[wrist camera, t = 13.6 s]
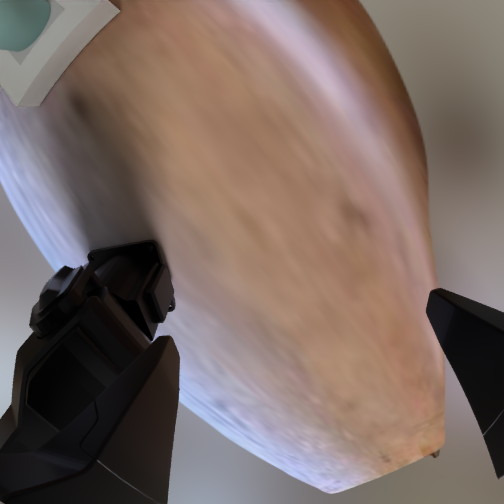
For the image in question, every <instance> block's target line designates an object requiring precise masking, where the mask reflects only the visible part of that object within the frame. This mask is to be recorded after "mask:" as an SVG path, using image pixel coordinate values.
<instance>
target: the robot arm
mask: <svg viewBox="0 0 504 504" xmlns="http://www.w3.org/2000/svg"><path fill="white" fill-rule="evenodd" d="M149 245H152V246H153V249H151V248H149ZM92 255H93V256H94V257H95V259H94V258H93V257H92ZM87 257H88V261H89V263H87V264H86V265H84V266H83V267H82V265H81V266H80V267H78V268H76V269H75V268H74V269H73V268H70V267H67V266H64V267H62V268H61V269H60V270H59V271H58V272H57V273H56V274H55V275H54V276H53V277H52V278H51V279H50V280H49V281H48V282H47V283H46V285H45V286H44V288H43V290H42V292H41V294H40V299H39V301H38V302H37V303H36V304H35V305H34V307H33V308H32V313H31V318H30V324H29V326H30V328H31V329H32V330H33V331H34V332H33V333H32V334H31V335H30V336H29V338H28V339H27V340H26V341H25V342H24V343H23V345H22V346H21V347H20V348H19V350H18V351H17V355H16V363H15V369H14V378H13V388H12V402H11V405H10V406H9V408H8V409H7V411H6V412H5V413H4V415H3V416H2V417H1V419H0V504H167V502H168V489H169V477H170V468H171V458H172V449H173V441H174V432H175V424H176V417H177V409H178V401H179V390H180V388H179V370H180V356H179V352H178V350H177V348H176V345H175V343H174V340H173V338H172V337H171V336H170V335H167V336H159V337H158V338H157V339H156V340H155V341H154V342H151V341H153V339H154V336H155V333H156V330H157V327H158V324H159V323H163V322H164V320H165V318H166V315H167V312H171V311H173V310H174V309H175V306H176V305H175V301H174V298H173V294H174V289H173V285H172V282H171V279H170V276H169V272H168V269H167V266H166V265H165V264H164V263H162V259H161V256H160V252H159V249H158V245H157V243H156V242H155V241H154V240H146V241H140V242H135V243H129V244H124V245H119V246H113V247H108V248H103V249H98V250H92V251H91V252H90V253H89V254H88V256H87ZM170 305H171V307H169V306H170ZM426 314H427V317H428V319H429V321H430V323H431V325H432V327H433V330H434V332H435V334H436V336H437V339H438V341H439V343H440V346H441V348H442V350H443V352H444V353H445V355H446V357H447V359H448V361H449V363H450V365H451V366H452V368H453V370H454V372H455V374H456V376H457V378H458V380H459V382H460V384H461V386H462V388H463V391H464V393H465V395H466V397H467V399H468V401H469V404H470V406H471V408H472V410H473V413H474V415H475V417H476V420H477V422H478V425H479V427H480V429H481V432H482V435H483V437H484V440H485V443H486V445H487V448H488V451H489V454H490V457H491V460H492V463H493V466H494V468H495V472H496V475H497V478H498V479H500V478H501V477H503V476H504V312H501V311H498V310H496V309H494V308H491V307H489V306H486V305H483V304H481V303H479V302H476V301H474V300H471V299H468V298H466V297H463V296H461V295H458V294H455V293H453V292H450V291H447V290H445V289H442V288H437V289H434V290H432V291H431V292H430V294H429V298H428V303H427V307H426Z"/></svg>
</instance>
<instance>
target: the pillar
mask: <svg viewBox="0 0 504 504" xmlns="http://www.w3.org/2000/svg"><path fill="white" fill-rule="evenodd" d="M49 15H50V5H49V3H48V2H47V1H46V0H0V50H8V51H15V52H19V51H22V50H24V49H26V48H28V47H29V46H30V45H31V44H32V43H33V42H34V41H35V40H36V39H37V38H38V37H39V35H40V34H41V33H42V31H43V29H44V28H45V26H46V24H47V21H48V19H49Z"/></svg>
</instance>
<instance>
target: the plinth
mask: <svg viewBox="0 0 504 504" xmlns="http://www.w3.org/2000/svg"><path fill="white" fill-rule="evenodd" d="M46 1H47V2H48V3H49V5H50V15H49V19H48V21H47V24H46V26H45V28H44V29H43V31H42V33H41V34H40V35H39V37H38V38H37V39H36V40H35V41H34V42H33V43H32V44H31V45H30V46H29V47H28V48H26V49H24V50H22V51H19V52H15V51H8V50H0V85H1V87H2V88H3V89H4V91H5V92H6V94H7V95H8V96H9V98H10V99H11V100H12V102H13V103H14V104H15V106H16V107H39V106H40V104H41V103H42V101H43V100H44V98H45V97H46V95H47V94H48V92H49V91H50V90H51V88H52V87H53V85H54V84H55V83H56V81H57V80H58V79H59V77H60V76H61V75H62V73H63V72H64V71H65V70H66V68H67V67H68V66H69V65H70V63H71V62H72V61H73V60H74V59H75V57H76V56H77V55H78V54H79V53H80V52H81V50H82V49H83V48H84V47H85V46H86V45H87V44H88V43H89V42H90V41H91V39H92V38H93V37H94V36H95V35H96V34H97V33H98V32H99V31H100V30H101V29H102V28H103V27H104V26H105V25H106V24H107V23H108V22H109V21H110V20H111V19H112V18H113V17H115V16H116V15H117V14H118V13H119V12H120V10H119V9H118V8H116V7H115V6H114V5H113V4H112V3H111V2H110V1H108V0H46Z"/></svg>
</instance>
